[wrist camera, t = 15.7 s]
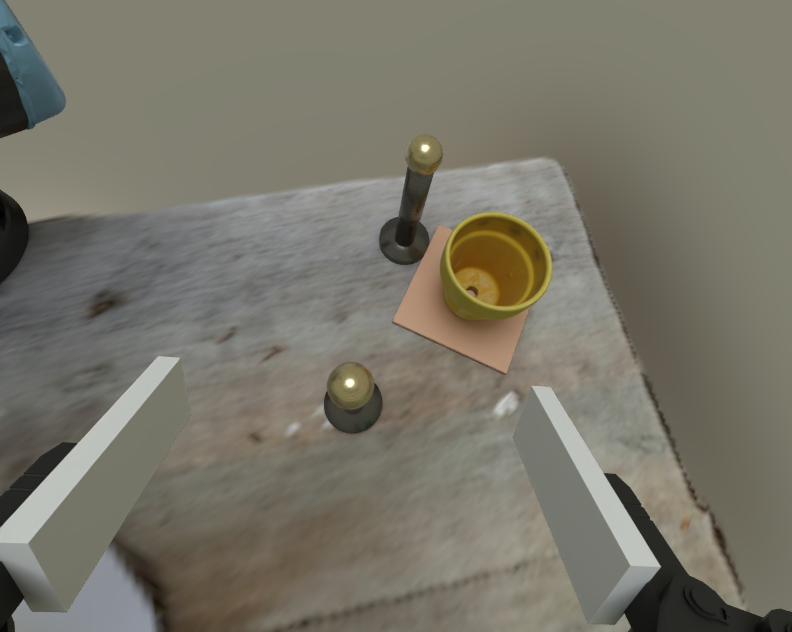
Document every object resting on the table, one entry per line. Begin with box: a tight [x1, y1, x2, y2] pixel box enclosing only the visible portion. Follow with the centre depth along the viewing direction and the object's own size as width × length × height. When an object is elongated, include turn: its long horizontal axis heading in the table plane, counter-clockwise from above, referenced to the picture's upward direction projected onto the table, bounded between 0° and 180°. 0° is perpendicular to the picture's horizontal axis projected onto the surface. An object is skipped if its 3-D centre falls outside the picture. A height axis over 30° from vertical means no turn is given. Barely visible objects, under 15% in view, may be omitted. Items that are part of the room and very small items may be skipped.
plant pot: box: [440, 212, 552, 321], centre depth 40 cm, size 10×10×10 cm
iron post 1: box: [324, 362, 382, 433], centre depth 32 cm, size 6×6×17 cm
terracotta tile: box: [392, 225, 530, 374], centre depth 45 cm, size 14×14×1 cm
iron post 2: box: [379, 134, 443, 265], centre depth 38 cm, size 6×6×17 cm
